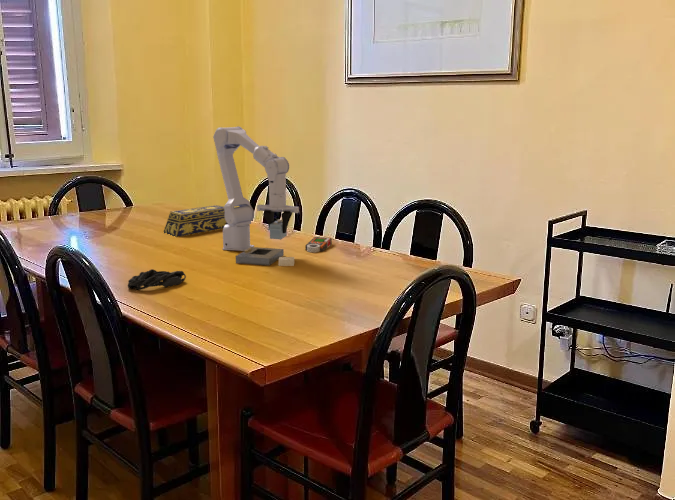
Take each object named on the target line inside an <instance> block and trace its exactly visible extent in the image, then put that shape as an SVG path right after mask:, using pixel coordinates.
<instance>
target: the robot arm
mask: <svg viewBox="0 0 675 500" xmlns="http://www.w3.org/2000/svg"><path fill="white" fill-rule="evenodd" d="M212 137H213V138H212V139H213V143H214V146H215V149H216V150H215V151H216V155H217V159H218V163H219V167H220V171H221V176H222V180H223V185H224V187H225V192H226V196H227V199H228V200H227V202H226V203H225V204H224V210H225V220H226V222H227V223H228V224H226V225H225V226H224V228H223V229H222V245H223V247H222V250H223V251H237V252H238V251H239V252H240V251H241V252H244V251H245V250H247V249H248V248H251V247H255V245H254V244H251V231H250V230H251V229H250V227H251V226H250V225H251V224H252V221H253V220H254V219H255V211H254V209H253V207H252V205H251V203H250V200H248V199H247V198H246V197H244V195H243V191H242V187H241V183H240V178H239V176H238V174H239V173H238V170H237V165H236V163H235V159H234V158H235V157H234V153H235V152H236V151H237V150H238V149H239V148H240V147H242V148H244V149H245V150H246V151H248V152H249V153H251V154H252V155H253V159H254V160H255V161H256V162H257V163H259V164H260V165H261V166H262V167H263V168H264V170H265V173H266V175H267V176H266V177H267V180H268V196H269V197H268V199H269V200H268V202H269V204H258V205H256V210H257V211H256V212H263V214H262V215H263V217H264V219H265V220H266V222H267V225H268V226H267V227H268V228H270V224H271V223H273V222H275V213H279V212H280V213H281V214H280V216H281V220H282V224H283V225H282V230H283V233H286V231H287V229H288V226H289V222H290V220H291V217H292V216H293V214H298V213H299V212H300V207H299V206H296V205H295V206H294V205H287V180H286V179H287V177H286V175H287V174H288V173H289V170H290V163H289V161H288V160H287V159H286V157H284V156H281V157H280V156H278V154H276V153H274V152H273V151H271V150H270V149H269V147H268V146H267V145H259V144H258V143H257V142H256V141H254V139H252V138H251V137H250V136H249V135H248V134H247V131H246V130H245V129H243V128H242V127H241V126H239V125H238V126H232V127H230V126H229V127H222V126H221V127H220V126H219V127H217V128H216V129H215V132H214V133H213V136H212ZM287 232H288V231H287Z"/></svg>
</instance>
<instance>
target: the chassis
mask: <svg viewBox="0 0 675 500" xmlns="http://www.w3.org/2000/svg"><path fill="white" fill-rule="evenodd" d="M284 250H285V249H284V248H275V247H274V248H272V247H261V246H260V247H259V246H257V247H256V246H254V247H251V248H248V249H247V250H245V251H241V252H240V253H238V254H236V255H235V264H241V265H242V264H244V265H255V266H256V265H259V266H271V265H273V264H274V263H275V262H276V261H279V257H285V253H284Z"/></svg>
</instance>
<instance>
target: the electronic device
mask: <svg viewBox="0 0 675 500" xmlns="http://www.w3.org/2000/svg"><path fill="white" fill-rule="evenodd" d="M332 239H333V238H332V237H322V236H321V237H320V236H314V237H313V238H312V239H311V240H310V241H309V242H307V243H306V244H305V251H307V252H308V253H318V252H324V251H326V249H328V248H329V247H330V246H331V245H332V243H333V242H332V241H333V240H332Z"/></svg>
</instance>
